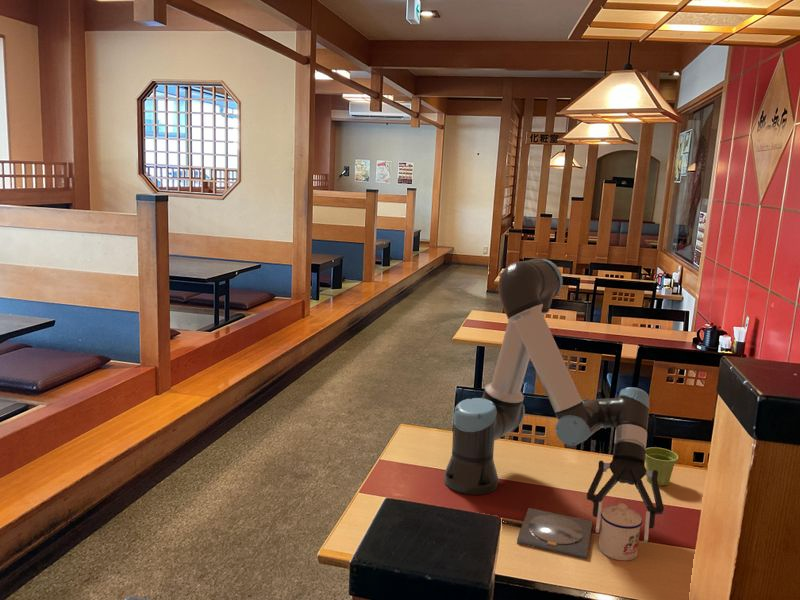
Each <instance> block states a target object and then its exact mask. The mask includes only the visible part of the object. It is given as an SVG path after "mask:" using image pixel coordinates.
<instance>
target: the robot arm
mask: <svg viewBox="0 0 800 600" xmlns="http://www.w3.org/2000/svg"><path fill="white" fill-rule="evenodd" d="M563 283H564V282H563V275H562V272H561V271H560V268H559V267H558V266H557V264H555V263H553V262H552V261H551V260H549V259H547V258H546V259H545V258H532V259H528V260H522V261H520V260H519V261H515V262H512V263H510V264H508V266H506V267H505V268H504V269H503V270H502V272H501V274H500V276H499V279H498V285H497V286H498V293H499V294H498V295H499V299H500V303H501V306H502V308H503V311H504V312H505V316H506V317H507V320H508V321H507V325H506V329H505V333H504V336H503V340H502V343H501V346H500V347H501V348H500V351H499V353H498V357H497V361H496V365H495V369H494V373H493V377H492V381H491V382H489V383H488V384H486V385H485V387H484V391H483V392H482V394H483V395H482V396H481V397H473V398H466V399H463V400H461V401H459V402H458V403H457V404H456V406H455V407H454V414H453V417H452V422H453V426H452V446H451V448H452V450H451V456H450V459H449V460H448V461H449V462H448V464H447V466H446V469H445V471H444V477H443V478H444V479H443V480H444V484H445V485H446V487H448V488H449V489H450V490H452V491H455V492H457V493H461V494H465V495H474V496H477V495H486V494H489V493H492V492H494V491H496V489H497V488H498V483H499V476H498V472H497V468H496V465H495V462H494V461H495V460H494V449H495V441H497V440H499V439H501V438H502V437H505V436H506V435H507V434H509V433H511V432H513V431H514V430H516V429H517V428H518V427H519V426H520V425H521V424H522V422H523V420H524V418H525V414H526V409H525V408H526V407H525V405H524V403H523V402H524V399H525V396H524V394H523V393H522V386H523V383H524V379H525V377H526V373H527V368H528V365H529V362H530V361H531V363H532V365H533V368H534V370H535V372H536V374H537V376H538V378H539V380H540V383H541V384H542V387H543V389H544V391H545V393H546V396H547V398H548V400H549V402H550V404H551V405H550V406H552V409H553V412H554V413H555V416H556V417H555V418H556V419H557V422H556V423H555V434H556V436H557V438H558V439H559V440H560V442H562V443H563V444H565V445H568V446H577V445H579V444H581V443H584V442H585V441H587V440H588V439H589V437H591V436H592V435H593V434H595V433H596V432H597V431H599V430H601V428H615V432H614V434H615V435H614V441H613V443H614V445H613V450H612V451H613V452H612V460H611V461H610V462H604V461H603V460H599V461H598V466H597V467H598V469H597V471H596V474H595V476H594V478H593V480H592V483H591V484H590V485H589V488H588V489H587V490H588V491H587V493H586V500H588V501H590V502H593V508H592V517H595V518H596V523H595V524H596V526H595V533H597V534H600V528H601V519H602V517H601V512H602V510H603V509H602V508H603V500H604V498H605V497H607V495H608V493H610V492H611V490H612V489H613V487H614V486H615V485H616V484H617V483H618V482H619V483H620V484H628V485H632V486H635V488H636V490H637V492H638V493H639V495H640V497H641V499H642V502H643V504H644V505H645V508H646V512H645V517H644V518H645V519H644V533H643V544H648V541H649V533H650V530H649V529H654V528H655V520H656V519H655V518H656V515H663V513H664V511H665V507H664V503H663V499H662V495H661V494H662V493H661V490H660V486H658V481H657V477H658V471H656V470H654V471H649V470H646V459H645V454H646V450H645V449H646V448H647V440H648V426H649V417H650V416H649V415H650V412H651V411H650V396H649V393H647V392H646V391H645V390H644V389H641V388H639V387H632V386H630V387H628V386H627V387H625V388H622V389H621V390H620V392H619V395H618V397H612V398H591V399H590V398H585V399H582V398H581V396H580V393H579V391H578V389H577V386H576V384H575V382H574V380H573V378H572V376H571V374H570V371H569V369H568V367H567V364H566V362H565V360H564V358H563V356H562V354H561V351H560V349H559V347H558V345H557V343H556V341H555V339H554V336H553V334H552V331H551V329H550V327H549V325H548V323H547V320H546V319H545V315H546V314H548V313H550V309H551V305H552V301H553V298H556V296H557V295H558V294H559V293H560V292H561V290H562V287H563ZM608 469H610V471H611V473H612V475H611V476H610V478H609V479H608V480H607V482H606V483H605V484H604V486H603V487H602V488H601V489H600V490H599V491H598V493H597V494H596V495H595V493H596V490H597V488H598V487H599V485H600V482H601V480H602V477H603V475H604V473H605V472H607V471H608ZM646 475H647V476H648V479H649V480H651V483H650V484H651V491H652V494H653V498H654V503H655V506H654V504H653V502H652V499H651V497H650V495H649V494H648V493H649V492H648V491H647V489H646V487H645V485H644V482H643V480H642V479H643V478H644V477H647V476H646Z"/></svg>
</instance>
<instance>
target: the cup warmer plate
mask: <svg viewBox="0 0 800 600" xmlns="http://www.w3.org/2000/svg"><path fill="white" fill-rule="evenodd" d="M501 519H502V518H501ZM503 521H504V523H503V524H506V523H507V524H506V525H511V524H512V525H511V526H517V527H520V530H519V533H518V535H517V538H516V544H518V543H519V545H523V544H524V545H523V546H527V545H529V546H528V547H531V546H534V547H533V548H536V547H537V548H536V549H540V548H542V549H541V550H545V551H549V550H550V551H551V552H553V551H555V553H558V552H559V553H558V554H563V555H568V556H572V557H574V558H576V557H577V558H581V559H584V560H587V559H588V553H589V547H590V540H591V535H592V534H591V533H592V528H593V527H592V526H593V520H589V519H585V518H584V519H583V518H579V517H576V516H575V517H574V516H568V515H565V514H560V513H556V512H551V511H545V510H541V509H540V510H539V509H536V508H531V507H528V509H527V511H526V514H525V517H524V519H523V522H522V523H521V522H517V521H512V520H507V519H504V518H503V519H502V522H503ZM505 522H506V523H505Z"/></svg>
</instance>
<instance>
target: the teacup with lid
mask: <svg viewBox="0 0 800 600" xmlns="http://www.w3.org/2000/svg"><path fill="white" fill-rule="evenodd" d="M642 523H643V520H642V517H641V515H640V514H639V513H638V512H637V511H635V510H633V509H632V508H629V507H628V505H626V504H625V503H623V502H622V503H618V504H617V505H608V506H605V507H603V509H602V512H601V520H600V529H599V537H598V538H599V539H598V548H599V550H600V552H601V553H602V554H604V555H605V556H607V557H608V558H611V559H613V560H617V561H631V560H633V559H636V557H637V556H638V550H639V543H640V535H641V534H640V533H641V525H642Z"/></svg>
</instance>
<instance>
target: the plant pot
mask: <svg viewBox="0 0 800 600" xmlns="http://www.w3.org/2000/svg"><path fill="white" fill-rule="evenodd" d="M645 450H646V454H645V468H646V470H649V471H654V470H656V471H658V477H657V481H658V486H659V487H661V486H668V485H669V484H670V480H671V477H672V474H673V470H674V467H675V464H676V463H677V461H678V460H679V455H678V454H677V453H676V452H674V451H672V450H670V449H667V448H662V447H657V446H654V447H646V448H645ZM645 477H646V480H647V482H649V483H650V484H651V480H649V479H648V476H647V475H645Z"/></svg>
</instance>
